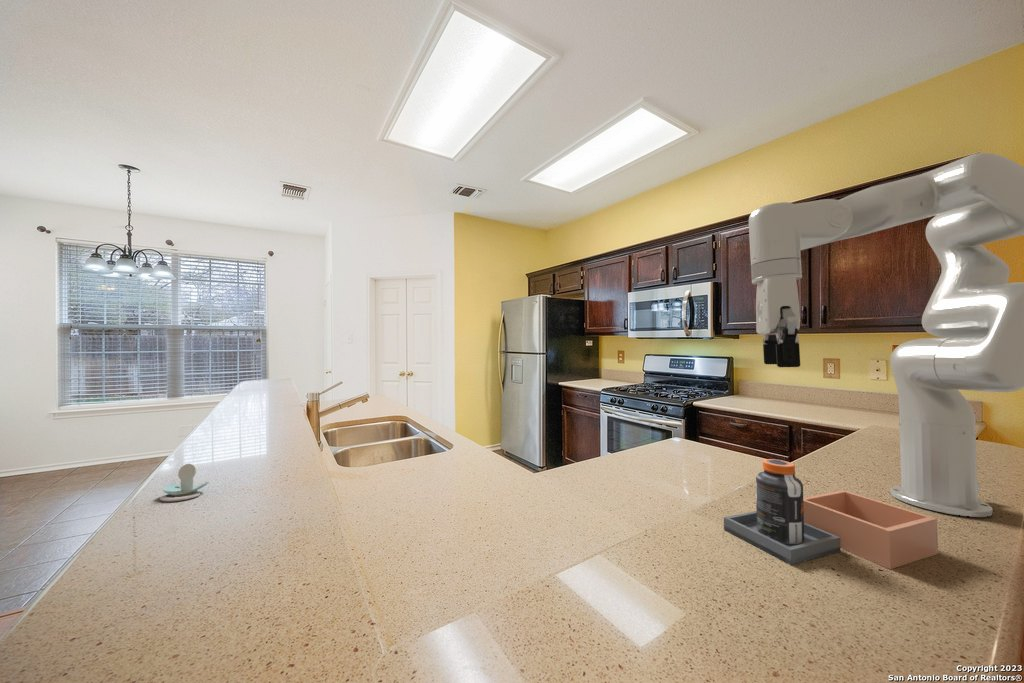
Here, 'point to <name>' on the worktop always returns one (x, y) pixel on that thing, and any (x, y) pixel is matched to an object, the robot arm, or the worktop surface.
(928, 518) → the frame
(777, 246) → the robot arm
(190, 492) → the pacifier
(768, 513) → the pill bottle
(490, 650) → the worktop surface
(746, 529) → the charcoal tray
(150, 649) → the worktop surface
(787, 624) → the worktop surface
